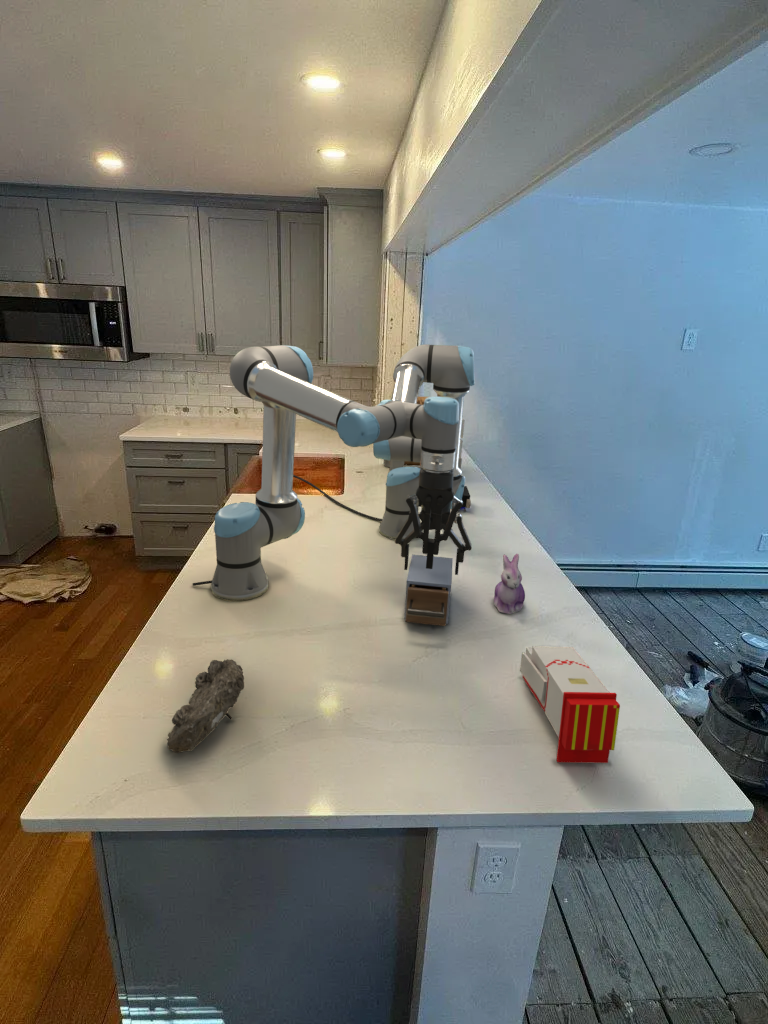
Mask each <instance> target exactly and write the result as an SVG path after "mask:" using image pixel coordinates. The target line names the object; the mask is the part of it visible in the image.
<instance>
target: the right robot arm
mask: <svg viewBox="0 0 768 1024" xmlns="http://www.w3.org/2000/svg"><path fill="white" fill-rule="evenodd" d="M392 379H393V382H394V383H393V384H394V385H393V388H392V393H391V398H390V400H399V401H403V402H408V403H414V404H417V398H418V397H419V392H420V387H422V385H423V384H424V383H426V384H432V390H433V391H434V393H435V394H436V397H449V398H453V399H455V400H457V401H458V403H459V422H458V429H457V438H456V450H455V451H456V454H455V465H454V469H452V471H453V472H454V476H453V488H452V489H453V492H454V496H455V497H456V498H457V499H462V495H463V490H464V486H466V485H465V484H466V477H465V476H464V475H463V474H462V473H463V471H462V469H461V470H460V468H459V467H458V459H459V447H460V439H461V438H460V436H461V425H462V419H463V414H464V413H463V412H464V403H465V396H466V395H467V394H468V393H469V392H470V388H471V387H473V386H475V384H476V381H475V379H476V378H475V353H474V350H473V348H472V347H470V346H463V345H451V344H450V345H449V344H430V343H429V344H424V343H423V344H419V345H417V346H413V347H412V348H411V349H409V350H408V351H406V352H405V353H404V354H403V355H402V356H401V357H400V358H399V360H398V361H397V362H396V365H395V366H394V370H393V373H392ZM372 448H373V449H372V452H373V456H374V458H375V459H377V460H383V461H384V460H389V461H390V460H394V461H410V462H420V459H421V439H416V438H411V437H405V436H400V437H396V438H393V439H389V440H384V441H380V442H377V443H373V444H372ZM420 469H421V468H420V467H419V466H418V467H417V466H404V467H400V468H396V469H393V470H391V471H390V470H389V471H388V473H387V475H386V482H385V504H384V505H385V507H384V508H385V509H384V513H383V515H382V518H380V517H379V518H378V517H375V516H373V515H369V514H366V513H363V512H360V511H358V510H356V509H353V508H351V507H349V506H347V505H345V504H343V503H341V502H339V501H338V500H336V499H335V498H333V497H332V496H331V495H329V494H327V493H326V492H324V491H323V490H322V489H320V488H319V487H318V486H316V485H315V484H313V483H312V482H310V481H308V480H306V479H305V478H302V477H300V476H298V475H295V474H293V478H295V479H296V480H297V479H298V480H300V481H302V482H303V483H305V484H307V485H309V486H311V487H313V488H314V489H315V490H317V491H318V492H319V493H320V494H322V495H323V496H325V497H326V498H327V499H329V500H330V501H332V502H333V503H335V504H337V505H339V506H340V507H342V508H344V509H346V510H348V511H349V512H352V513H353V514H356V515H359V516H361V517H364V518H367V519H370V520H373V521H377V522H379V526H378V533H379V534H380V535H381V536H382V537H385V538H387V539H389V540H394V544H395V545H399V546H400V548H401V549H400V557H401V558H404V564H403V565H404V566H403V570H404V571H408V569H409V554H410V543H411V542H412V541H413V540H415V539H417V538H416V537H415V532H414V527H413V521H412V516H411V511H410V507H409V506H408V504H407V502H406V499H407V496H408V495H413V494H415V493H416V491H417V489H418V487H419V474H420ZM416 506H417V511H418V517H419V522H420V528H421V532H424V519H425V508H424V507H423V505H422V504H421V502H420V501H419V499H418V498H417V503H416ZM420 507H421V508H420ZM419 508H420V511H419ZM451 510H452V501H451V502H450V503H449V504H448V505H447V506H446V507H445V508H444V509H442V519H441V531H442V530H443V531H444V529H445V527H446V524H447V521H448V518H449V515H450V512H451ZM436 512H437V510H434V509H432V510H431V515H430V528H429V531H435V525H436ZM454 523H455V524H456V525H457V529H458V531H459V534H460V535H461V538H462V540H463V542H462V541H461V540H460V538H459V537H458V535H457V534H456V532H455V531H454V530H453V529H451V531H450V534H449V537H448V538H449V539H450V540H451V542H452V543H453V544H454V545H455V547H456V556H455V557H456V558H455V566H454V567H455V569H454V575H455V576H458V575H459V567H460V563H461V564H463V563H464V560H465V553H466V552H468V551H469V552H470V551H472V549H473V547H472V546H473V545H472V543H471V540H470V538H469V535H468V533H467V530H466V528H465V526H464V523H463V515H462V513H457V515H456V517H455V520H454ZM454 523H453V524H454Z"/></svg>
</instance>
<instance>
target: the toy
mask: <svg viewBox="0 0 768 1024" xmlns="http://www.w3.org/2000/svg"><path fill="white" fill-rule="evenodd" d="M525 649H526V650H525V652H522V653H521V660H520V666H519V672H520V673H521V675H522V679H523V680H524V682H525V684H526V686H527V687H528V689H529V690H530V692H531V693H532V695H533V697H534V698H535V700H536V701H537V703H538V705H540V707H541V709H542V710H543V712H544V713H545V716H546V718H547V720H548V721H549V723H550V725H551V727H552V729H553V730H554V732H555V734H556V736H557V737H558V742H557V751H556V759H555V760H556V762H557V763H575V764H576V763H577V764H578V763H579V764H581V763H583V764H585V763H586V764H592V763H593V764H608V763H609V756H610V751H615V747H616V739H617V731H618V726H619V725H618V723H619V718H620V717H619V716H620V711H621V710H620V709H621V705H620V703H619V702H618V701H617V696H618V694H617V693H616V692H610V691H609V690H608V688H607V687H606V686H605V685H604V683H603V682H602V681H601V679H600V678H599V677H598V676H597V675H596V674H595V672H594V671H593V670H592V669H591V668H590V665H588V664H587V662H586V661H585V660H584V659H583V657H582V656H581V654H579V652H578V651H577V650H576V649H575V647H574V646H545V645H544V646H543V645H542V646H540V645H535V646H534V645H532V646H531V647H530V646H526V648H525Z"/></svg>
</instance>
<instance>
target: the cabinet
mask: <svg viewBox="0 0 768 1024" xmlns="http://www.w3.org/2000/svg"><path fill="white" fill-rule="evenodd" d="M426 560H427V555H425V554H413V553H412V554H411V557H410V563H409V566H408V571H407V577H406V583H405V599H404V615H403V620H404V621H406V609H407V593H408V587H412V584H415V585H425V586H436V587H446V591H449V594H448V605H447V616H446V625H448V624H449V617H450V607H451V596H452V595H451V594H452V585H453V564H454V563H453V561H454V558H453V557H445V556H436V555H434V556H433V567H432V569H426Z"/></svg>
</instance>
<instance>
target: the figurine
mask: <svg viewBox="0 0 768 1024" xmlns="http://www.w3.org/2000/svg"><path fill="white" fill-rule="evenodd" d="M511 559H512V560H510V559H509V557H508V555H506V554H503V555H502V565H503V566H502V567H503V570H502V572H501V574H500V579H501V581H499V582H498V583H497V584H496V585H495V588H494V597H493V606H494V607H495V608H496V609H497V611H498V612H499V613H503V614H510V615H512V614H514V613H518V612H520V611H521V610H522V609H523V606H524V603H525V599H526V592H525V589H524V585H523V584H522V580H523V576H522V573H521V570H520V569H519V561H520V555H519V553H515V554H514V555H513V557H512V558H511Z"/></svg>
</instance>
